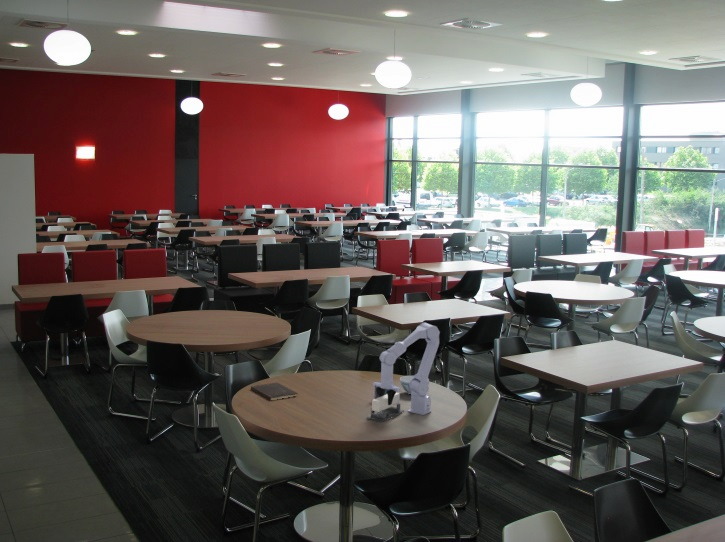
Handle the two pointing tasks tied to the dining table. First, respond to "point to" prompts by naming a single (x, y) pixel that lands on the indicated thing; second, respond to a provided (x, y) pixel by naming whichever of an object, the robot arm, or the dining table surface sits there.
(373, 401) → the rail
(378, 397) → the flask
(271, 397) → the hardcover book
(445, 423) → the dining table surface
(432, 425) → the dining table surface
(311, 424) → the dining table surface
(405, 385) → the chinaware
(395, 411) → the cup brackets
